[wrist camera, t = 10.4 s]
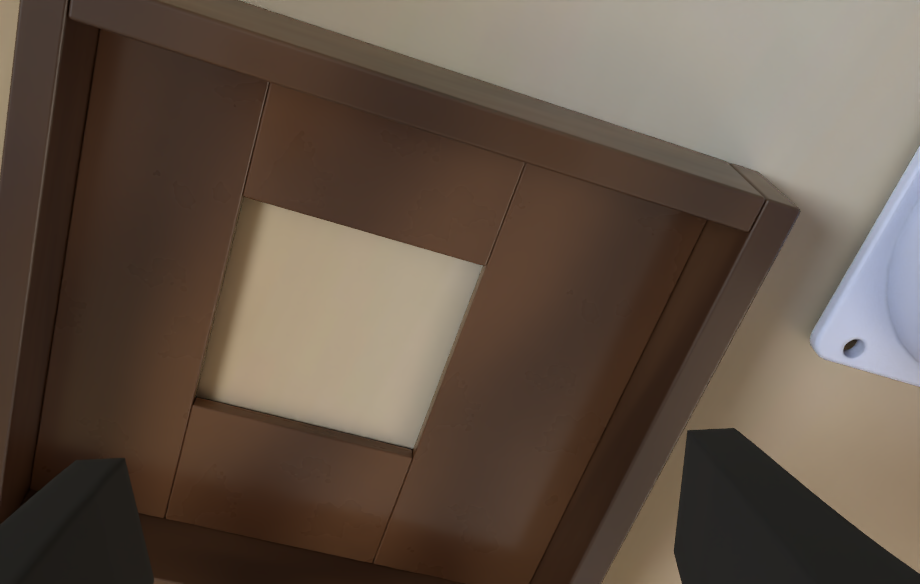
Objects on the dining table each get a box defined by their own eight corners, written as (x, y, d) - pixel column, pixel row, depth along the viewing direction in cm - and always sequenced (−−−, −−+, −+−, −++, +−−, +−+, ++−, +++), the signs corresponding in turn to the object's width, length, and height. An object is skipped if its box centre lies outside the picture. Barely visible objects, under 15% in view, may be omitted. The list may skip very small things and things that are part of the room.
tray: (760, 172, 19) (803, 210, 17) (538, 611, 25) (549, 681, 23) (73, -55, 17) (22, -44, 15) (-1, 496, 22) (-46, 564, 20)
